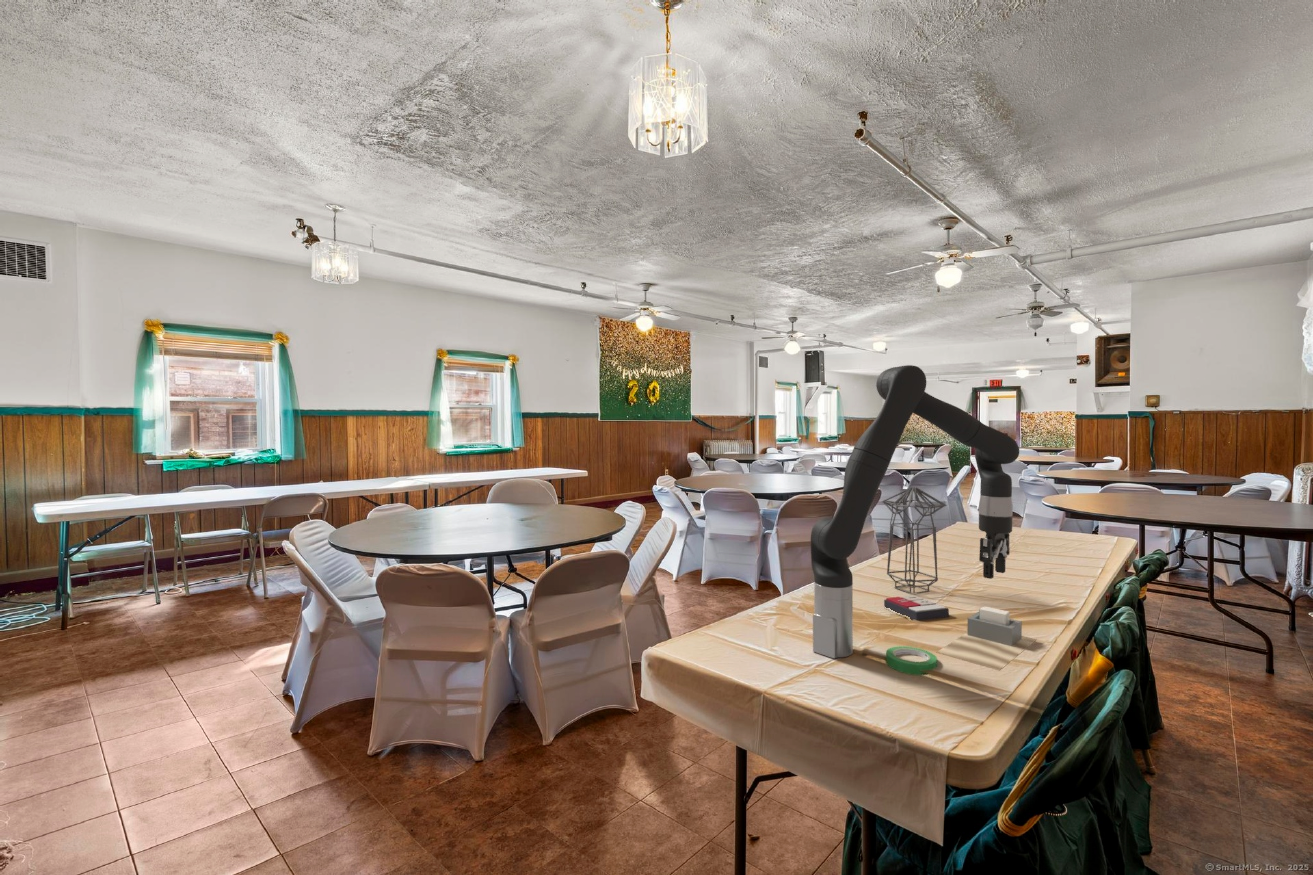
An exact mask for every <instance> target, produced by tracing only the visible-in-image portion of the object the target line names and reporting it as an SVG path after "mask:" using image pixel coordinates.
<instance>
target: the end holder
mask: <svg viewBox="0 0 1313 875" xmlns="http://www.w3.org/2000/svg"><path fill="white" fill-rule="evenodd" d="M1022 623H1023V622H1022V621H1021V620H1016V619H1012V618H1009V626H1005V625H1001V624H997V623H992V622H988V621H984V620H980V619H979V611H977V612H976V613H974V614H972V615H971V616H968V617H967V627H966V628H967V632H966V633H967V635H969V636H973V637H977V638H981V639H985V640H989V641H992V642H996V643H1000V644H1004V645H1008V646H1013V645H1014V644H1015V643H1017V642H1018V641H1019V640H1021V639H1022V636H1023V635H1022V634H1023V632H1022V629H1023V627H1022V626H1023V625H1022Z"/></svg>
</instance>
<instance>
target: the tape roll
mask: <svg viewBox="0 0 1313 875" xmlns="http://www.w3.org/2000/svg"><path fill="white" fill-rule="evenodd" d="M885 655H886V656H885V659H886V660H885V662H886V664H887V666H888V667H890V668H891V669H892V670H895V671H897V672H901V673H903V674H908V675H913V676H927V675H930V673H928V672H926V671H930V670H933V669H936V668H937V667H938V657H937V656H936V655H935V654H934V653H932V652H930V651H928V650H924V649H923V648H918V647H912V646H904V645H903V646H892V647H890V648H888V649H887V650H886V651H885ZM899 655H912V656H917V657H919V658H923V659H925V660H924V661H911V660H906V659H903V658H901V657H898V656H899Z"/></svg>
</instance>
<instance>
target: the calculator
mask: <svg viewBox="0 0 1313 875" xmlns="http://www.w3.org/2000/svg"><path fill="white" fill-rule="evenodd" d="M883 602H884V606H885V607H886V608H890V609H891V610H893V611H895V612H897V613H900V614H902V615H906V616H908V617H910V619H911V620H912V621H917V622H919V621H927V620H934V619H935V620H938V619H945V618H946V619H947V618H950V613H949V612H950V610H949V609H950V608H947V607H946V606H944V605H941V604H937V603H936V602H934V601H932V600H929V599H926V598H923V597H920V596H917V595H915V594H910V595H903V596H896V597H895V596H893V597H886V598H885V599H884V600H883Z"/></svg>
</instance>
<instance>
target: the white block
mask: <svg viewBox="0 0 1313 875" xmlns="http://www.w3.org/2000/svg"><path fill="white" fill-rule="evenodd" d="M978 612H979V619H980V620H984V621H988V622H992V623H997V624H1001V625H1005V626H1009V619H1010V611H1008V610H1002V609H999V608H993V607H989V606H985V605H984V606H982V607H980V609H978Z"/></svg>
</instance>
